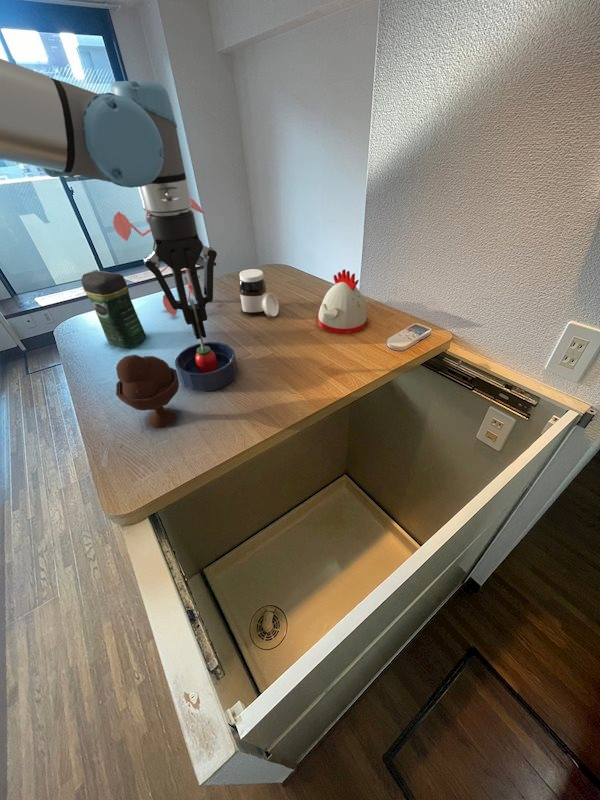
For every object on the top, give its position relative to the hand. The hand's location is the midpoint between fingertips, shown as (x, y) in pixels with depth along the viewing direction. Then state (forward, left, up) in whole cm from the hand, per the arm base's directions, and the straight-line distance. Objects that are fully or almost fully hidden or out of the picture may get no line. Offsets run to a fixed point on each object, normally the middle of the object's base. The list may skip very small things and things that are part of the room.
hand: (200, 335), depth 70 cm
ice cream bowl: (+1, -16, -11) cm, 19 cm away
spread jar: (-7, +33, -11) cm, 35 cm away
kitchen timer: (+18, +38, -11) cm, 43 cm away
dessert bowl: (0, 0, -11) cm, 11 cm away
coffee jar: (-30, +2, -11) cm, 32 cm away
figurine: (-27, +24, -11) cm, 38 cm away
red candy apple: (0, 0, -8) cm, 8 cm away
